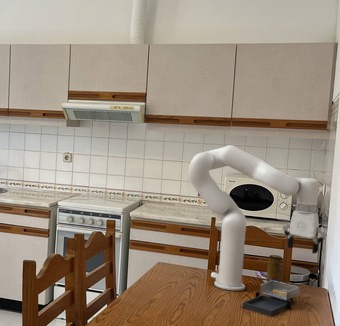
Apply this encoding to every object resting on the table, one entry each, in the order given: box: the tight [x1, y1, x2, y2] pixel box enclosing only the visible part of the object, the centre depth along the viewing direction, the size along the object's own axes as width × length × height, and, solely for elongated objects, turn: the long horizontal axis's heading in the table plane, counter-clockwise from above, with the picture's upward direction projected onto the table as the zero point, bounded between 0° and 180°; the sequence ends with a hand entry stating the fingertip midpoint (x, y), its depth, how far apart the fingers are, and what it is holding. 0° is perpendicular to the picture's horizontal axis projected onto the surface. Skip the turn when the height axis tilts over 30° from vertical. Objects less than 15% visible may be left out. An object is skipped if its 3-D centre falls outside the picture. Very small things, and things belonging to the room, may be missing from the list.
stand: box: [254, 290, 294, 310], centre depth 192 cm, size 13×10×3 cm
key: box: [273, 289, 287, 295], centre depth 193 cm, size 6×2×1 cm, turn 46°
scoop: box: [259, 280, 300, 301], centre depth 195 cm, size 11×17×4 cm
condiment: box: [261, 254, 283, 283], centre depth 218 cm, size 7×8×12 cm
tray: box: [242, 294, 288, 317], centre depth 185 cm, size 11×15×2 cm
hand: (302, 250), depth 200 cm, fingers open, 9 cm apart
